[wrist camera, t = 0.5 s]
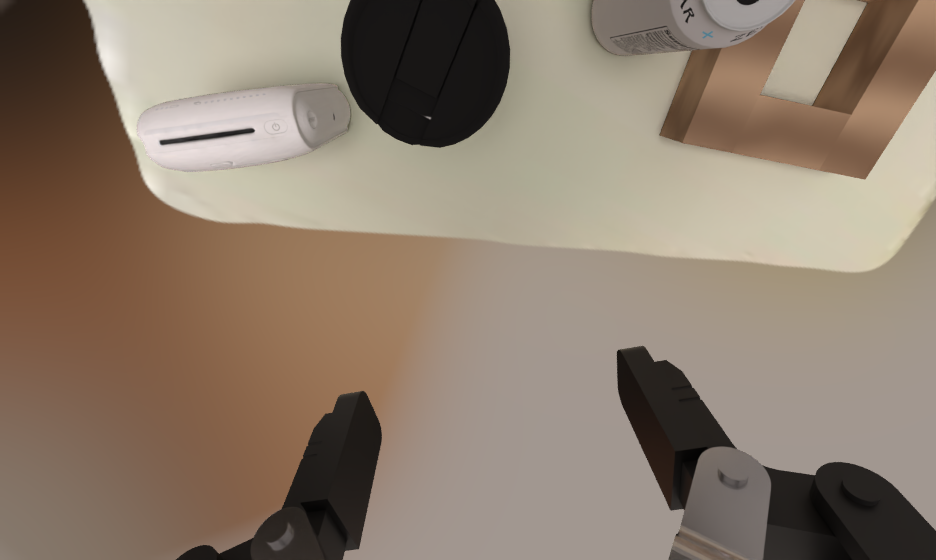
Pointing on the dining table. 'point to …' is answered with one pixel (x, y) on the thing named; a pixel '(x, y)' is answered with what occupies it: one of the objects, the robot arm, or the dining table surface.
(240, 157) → the photo printer
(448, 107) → the travel mug
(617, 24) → the energy drink can
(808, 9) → the dining table surface
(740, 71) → the wooden square frame
